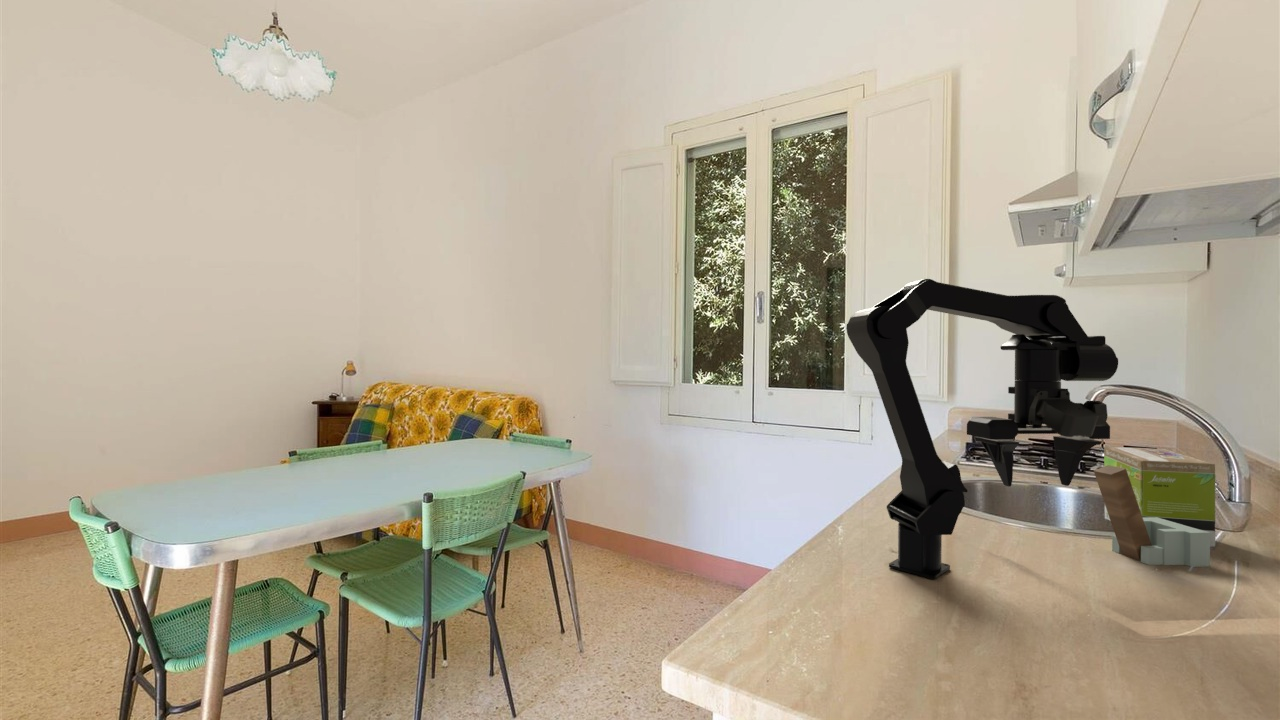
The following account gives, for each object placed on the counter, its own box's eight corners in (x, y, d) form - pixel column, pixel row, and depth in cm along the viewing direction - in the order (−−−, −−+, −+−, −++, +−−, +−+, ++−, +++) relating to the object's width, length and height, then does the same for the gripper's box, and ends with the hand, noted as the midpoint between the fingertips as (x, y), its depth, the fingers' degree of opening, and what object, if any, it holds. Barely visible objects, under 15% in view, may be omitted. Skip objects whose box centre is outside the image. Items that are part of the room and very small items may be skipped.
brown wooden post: (1140, 563, 85) (1110, 474, 85) (1122, 556, 88) (1093, 470, 88) (1156, 557, 85) (1125, 468, 85) (1137, 550, 88) (1108, 465, 88)
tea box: (1101, 523, 109) (1102, 445, 109) (1168, 528, 106) (1168, 448, 106) (1140, 547, 95) (1141, 458, 95) (1218, 555, 92) (1219, 461, 92)
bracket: (1145, 575, 82) (1145, 533, 82) (1097, 556, 90) (1097, 518, 90) (1214, 574, 83) (1214, 532, 83) (1160, 555, 91) (1160, 517, 91)
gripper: (1018, 383, 77) (1017, 499, 77) (1147, 383, 79) (1145, 497, 79) (964, 380, 88) (963, 482, 88) (1078, 380, 90) (1077, 480, 90)
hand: (1036, 485), depth 86 cm, fingers open, 9 cm apart
